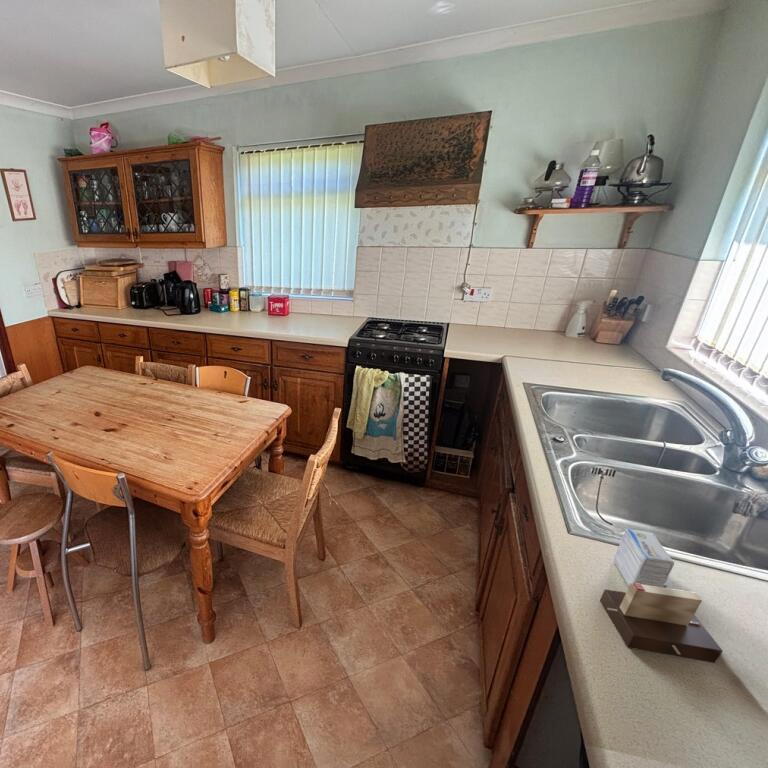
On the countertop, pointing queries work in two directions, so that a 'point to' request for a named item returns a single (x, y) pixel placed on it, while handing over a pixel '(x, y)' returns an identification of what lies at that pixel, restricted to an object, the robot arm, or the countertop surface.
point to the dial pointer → (660, 604)
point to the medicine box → (642, 559)
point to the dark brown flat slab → (661, 633)
